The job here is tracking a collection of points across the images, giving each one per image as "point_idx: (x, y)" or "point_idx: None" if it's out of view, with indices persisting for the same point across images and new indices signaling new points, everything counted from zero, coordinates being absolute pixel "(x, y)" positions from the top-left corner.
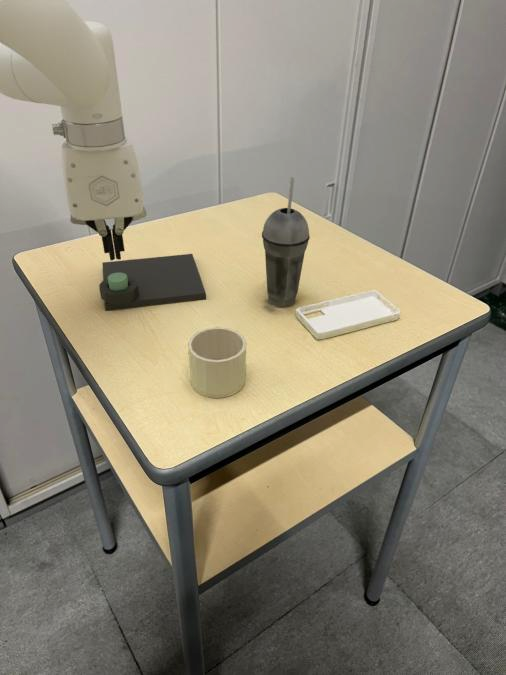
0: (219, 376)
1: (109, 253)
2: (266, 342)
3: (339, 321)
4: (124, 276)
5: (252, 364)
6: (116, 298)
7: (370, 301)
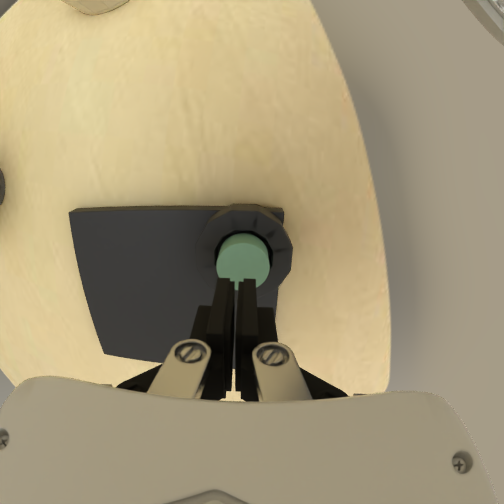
0: None
1: (255, 291)
2: (27, 70)
3: None
4: (223, 267)
5: (59, 18)
6: (253, 208)
7: None
